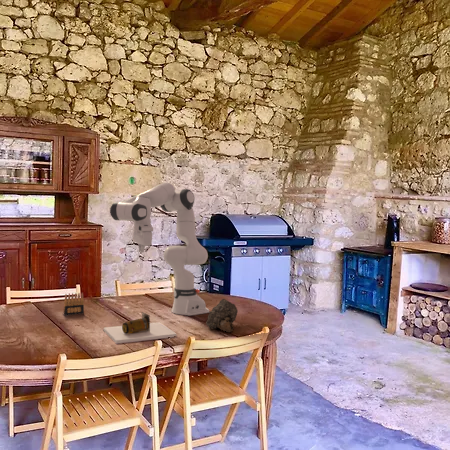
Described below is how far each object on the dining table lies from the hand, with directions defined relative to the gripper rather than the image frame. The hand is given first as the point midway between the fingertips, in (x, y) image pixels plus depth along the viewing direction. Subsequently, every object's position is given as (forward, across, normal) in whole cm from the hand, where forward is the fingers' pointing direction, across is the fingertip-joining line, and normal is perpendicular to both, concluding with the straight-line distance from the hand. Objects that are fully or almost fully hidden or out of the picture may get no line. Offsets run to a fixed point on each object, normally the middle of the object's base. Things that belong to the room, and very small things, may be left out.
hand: (141, 252), depth 260 cm
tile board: (+37, +24, -8) cm, 45 cm away
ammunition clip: (+37, -23, -30) cm, 53 cm away
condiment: (+31, +25, -5) cm, 40 cm away
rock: (+37, +32, +35) cm, 60 cm away
